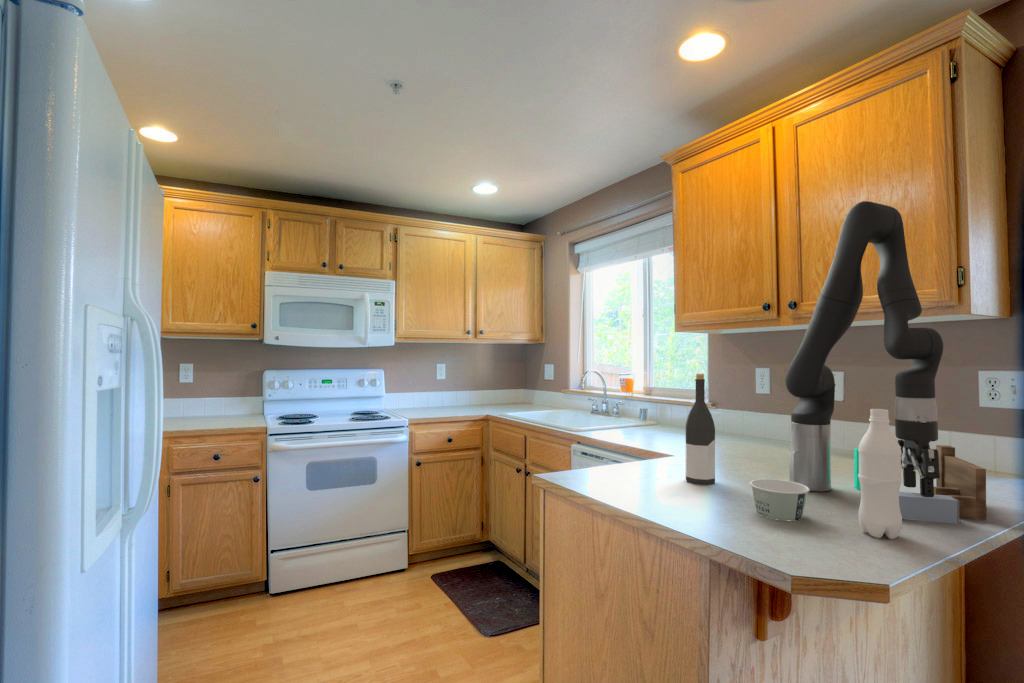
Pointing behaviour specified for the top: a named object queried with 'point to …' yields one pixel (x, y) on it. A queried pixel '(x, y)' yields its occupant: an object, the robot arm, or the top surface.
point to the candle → (856, 469)
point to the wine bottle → (700, 440)
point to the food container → (779, 498)
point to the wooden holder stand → (962, 483)
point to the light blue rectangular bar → (929, 508)
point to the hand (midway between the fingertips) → (918, 491)
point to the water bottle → (880, 478)
